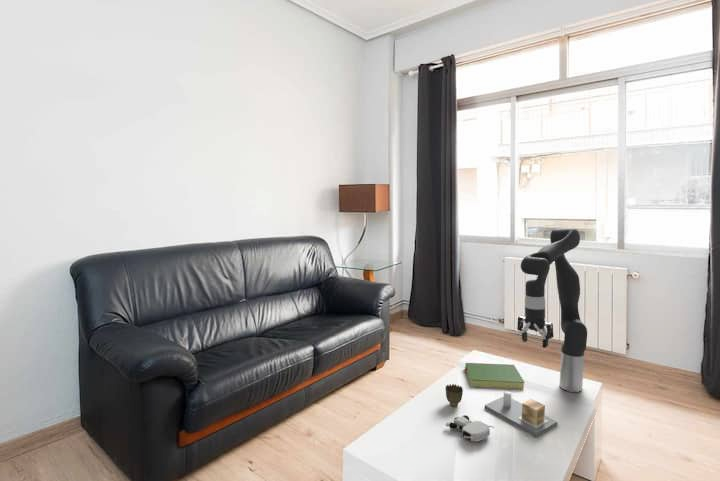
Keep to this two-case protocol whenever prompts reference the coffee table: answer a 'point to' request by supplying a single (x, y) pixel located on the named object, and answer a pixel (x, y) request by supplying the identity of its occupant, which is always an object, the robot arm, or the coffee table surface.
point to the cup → (454, 394)
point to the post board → (518, 415)
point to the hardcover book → (494, 375)
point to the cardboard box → (533, 412)
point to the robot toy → (470, 428)
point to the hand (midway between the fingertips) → (534, 344)
